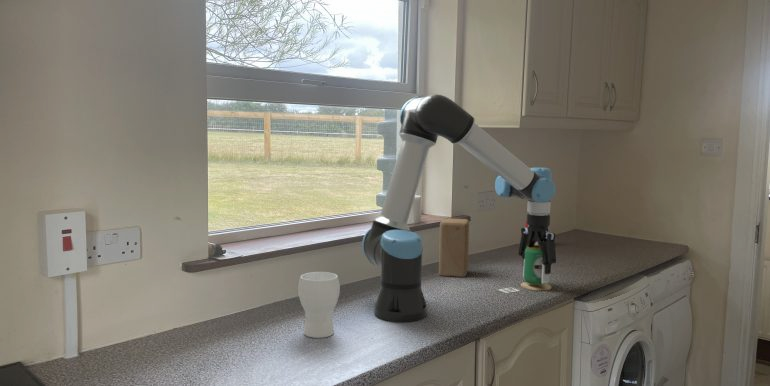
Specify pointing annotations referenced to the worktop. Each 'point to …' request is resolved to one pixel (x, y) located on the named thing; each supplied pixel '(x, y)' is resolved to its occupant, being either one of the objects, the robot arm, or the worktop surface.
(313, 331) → the cup
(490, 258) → the worktop surface
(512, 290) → the sticker
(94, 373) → the worktop surface
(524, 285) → the coaster
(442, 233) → the wooden block
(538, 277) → the beverage can
